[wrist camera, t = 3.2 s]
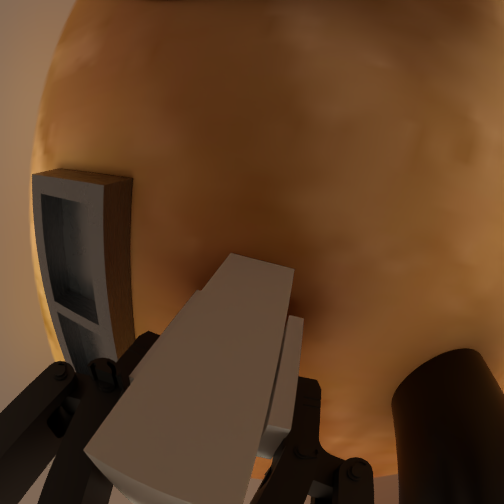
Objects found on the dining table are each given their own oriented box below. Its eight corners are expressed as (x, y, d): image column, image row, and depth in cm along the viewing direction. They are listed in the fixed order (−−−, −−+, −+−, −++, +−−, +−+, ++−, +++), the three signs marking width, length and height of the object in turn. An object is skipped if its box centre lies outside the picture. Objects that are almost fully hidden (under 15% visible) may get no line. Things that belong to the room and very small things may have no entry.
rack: (56, 168, 15) (-90, 217, 4) (132, 178, 14) (-78, 256, 3) (102, 411, 27) (56, 475, 15) (152, 437, 26) (110, 511, 14)
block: (230, 252, 15) (83, 450, 4) (294, 269, 14) (239, 516, 3) (217, 336, 17) (130, 501, 6) (270, 351, 16) (216, 533, 6)
